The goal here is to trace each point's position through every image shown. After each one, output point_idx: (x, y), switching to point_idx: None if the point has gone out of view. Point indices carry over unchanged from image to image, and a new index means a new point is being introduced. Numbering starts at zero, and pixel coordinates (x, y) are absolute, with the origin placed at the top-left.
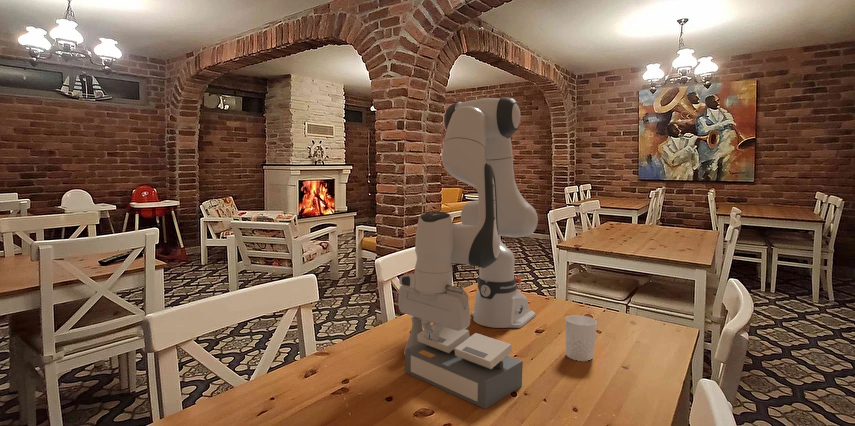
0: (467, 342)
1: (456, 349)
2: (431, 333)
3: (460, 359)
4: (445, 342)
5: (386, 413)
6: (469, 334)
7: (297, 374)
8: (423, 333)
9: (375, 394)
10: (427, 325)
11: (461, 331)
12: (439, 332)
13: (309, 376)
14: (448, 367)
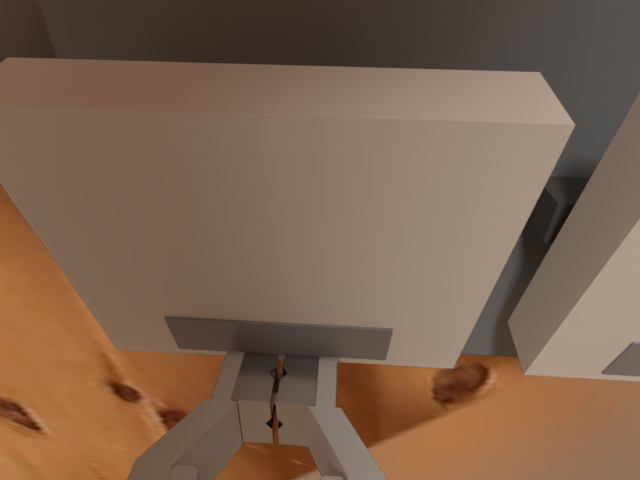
0: (624, 304)
1: (545, 372)
2: (298, 444)
3: (518, 259)
4: (407, 350)
5: (370, 428)
6: (551, 90)
7: (8, 431)
8: (137, 328)
9: None
10: (203, 468)
11: (467, 188)
12: (342, 414)
13: (38, 423)
14: (493, 351)
